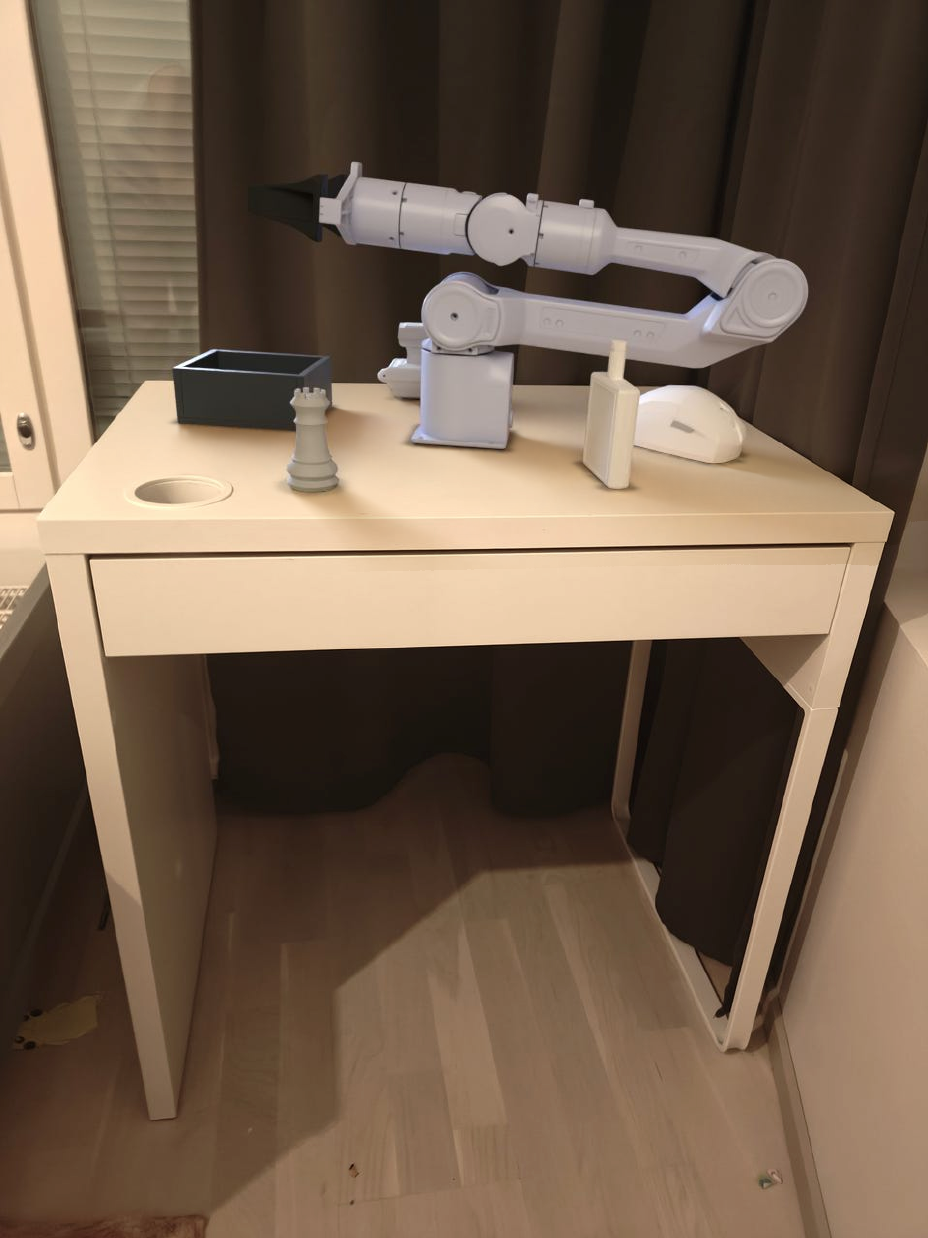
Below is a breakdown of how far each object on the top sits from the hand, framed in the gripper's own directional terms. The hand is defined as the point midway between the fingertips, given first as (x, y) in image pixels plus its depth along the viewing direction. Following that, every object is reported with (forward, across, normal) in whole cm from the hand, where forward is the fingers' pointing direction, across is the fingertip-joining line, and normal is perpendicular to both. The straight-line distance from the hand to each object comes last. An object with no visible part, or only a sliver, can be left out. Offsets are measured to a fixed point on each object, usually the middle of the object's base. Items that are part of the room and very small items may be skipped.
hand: (261, 197), depth 86 cm
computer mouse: (-44, -2, +19) cm, 47 cm away
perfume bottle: (-36, +10, +19) cm, 42 cm away
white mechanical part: (-14, -18, +21) cm, 31 cm away
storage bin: (+1, -4, +22) cm, 22 cm away
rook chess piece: (-10, +19, +21) cm, 30 cm away
